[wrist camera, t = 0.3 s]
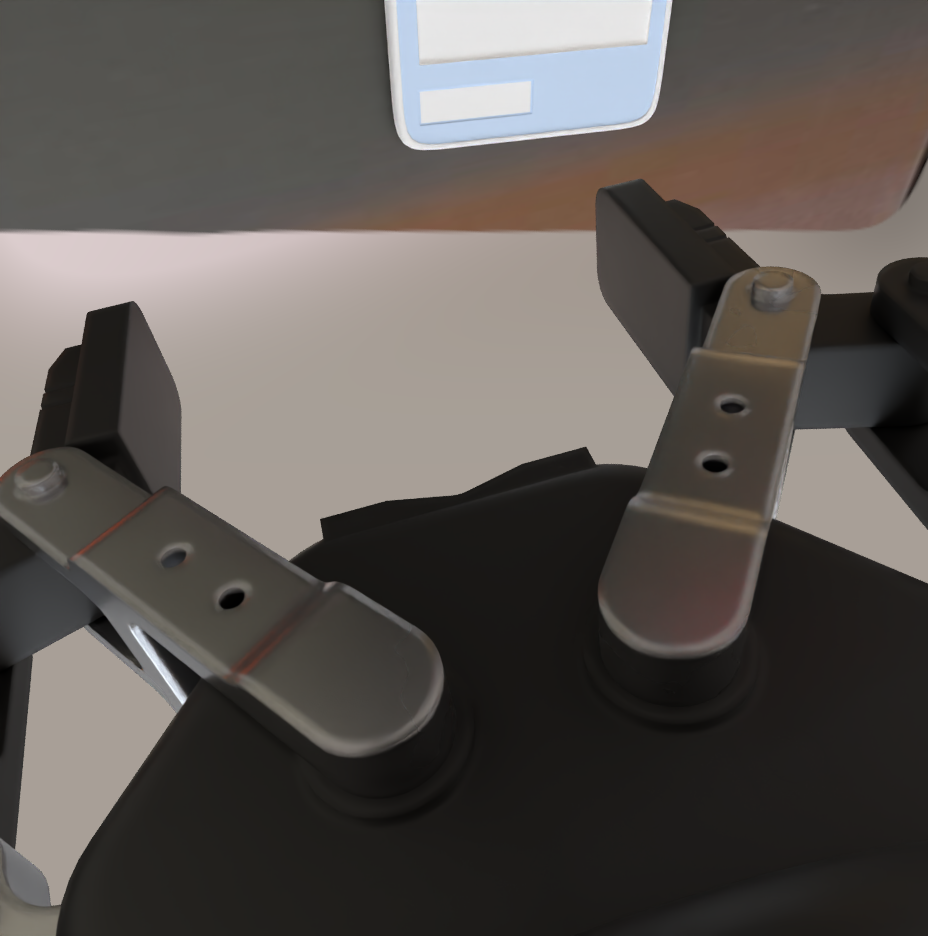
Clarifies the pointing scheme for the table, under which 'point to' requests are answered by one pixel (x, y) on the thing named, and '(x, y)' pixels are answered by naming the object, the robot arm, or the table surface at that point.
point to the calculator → (522, 68)
